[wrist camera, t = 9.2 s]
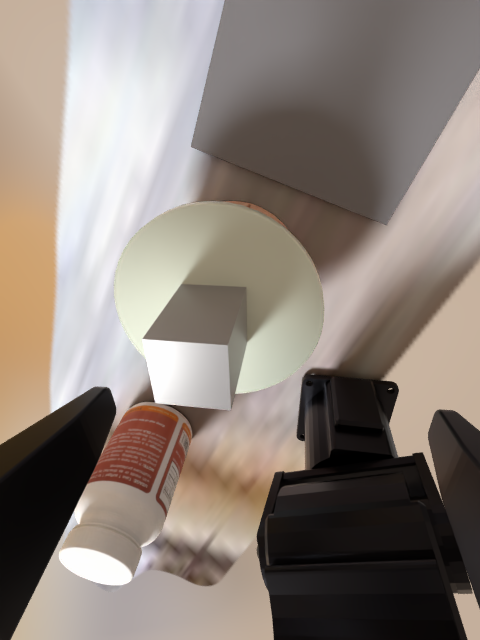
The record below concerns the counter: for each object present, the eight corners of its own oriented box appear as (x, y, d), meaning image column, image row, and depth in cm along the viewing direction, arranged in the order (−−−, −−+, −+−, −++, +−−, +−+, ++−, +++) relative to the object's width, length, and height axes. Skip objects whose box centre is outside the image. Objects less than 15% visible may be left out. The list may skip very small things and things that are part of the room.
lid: (313, 391, 19) (317, 479, 14) (140, 376, 20) (93, 452, 15) (335, 201, 13) (353, 245, 9) (100, 199, 15) (13, 236, 10)
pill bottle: (112, 415, 30) (26, 552, 21) (157, 387, 27) (82, 529, 18) (161, 456, 32) (103, 598, 23) (208, 433, 29) (164, 583, 20)
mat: (384, 223, 18) (386, 225, 18) (192, 146, 18) (190, 146, 17) (549, -58, 12) (556, -63, 12) (270, -184, 12) (269, -193, 12)
